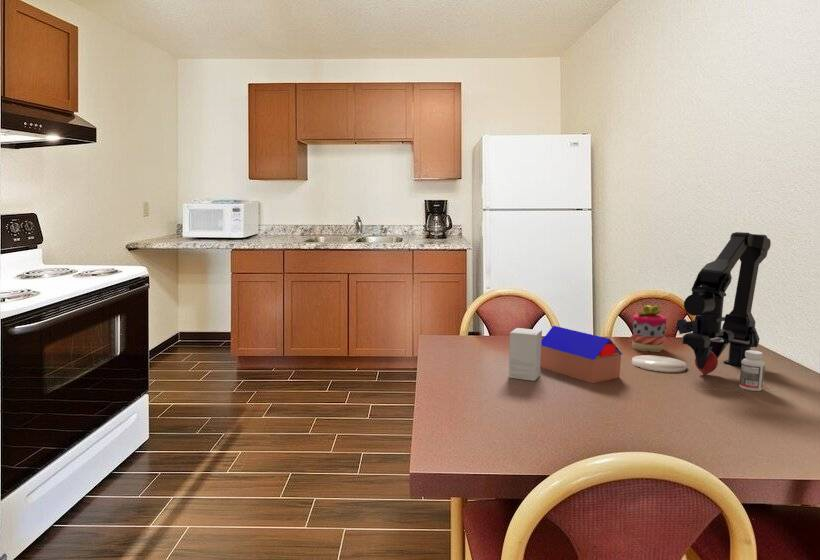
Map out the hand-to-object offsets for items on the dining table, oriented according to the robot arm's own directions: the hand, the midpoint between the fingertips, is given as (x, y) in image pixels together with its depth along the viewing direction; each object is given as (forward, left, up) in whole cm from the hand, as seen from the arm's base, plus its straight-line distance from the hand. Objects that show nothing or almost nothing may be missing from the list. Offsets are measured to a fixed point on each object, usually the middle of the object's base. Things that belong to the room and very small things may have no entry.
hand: (705, 367), depth 172 cm
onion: (0, 0, -2) cm, 2 cm away
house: (+28, -23, -3) cm, 36 cm away
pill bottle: (+3, +13, -2) cm, 14 cm away
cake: (-16, -27, -2) cm, 32 cm away
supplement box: (+45, -28, -2) cm, 53 cm away
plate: (+2, -13, -2) cm, 13 cm away
